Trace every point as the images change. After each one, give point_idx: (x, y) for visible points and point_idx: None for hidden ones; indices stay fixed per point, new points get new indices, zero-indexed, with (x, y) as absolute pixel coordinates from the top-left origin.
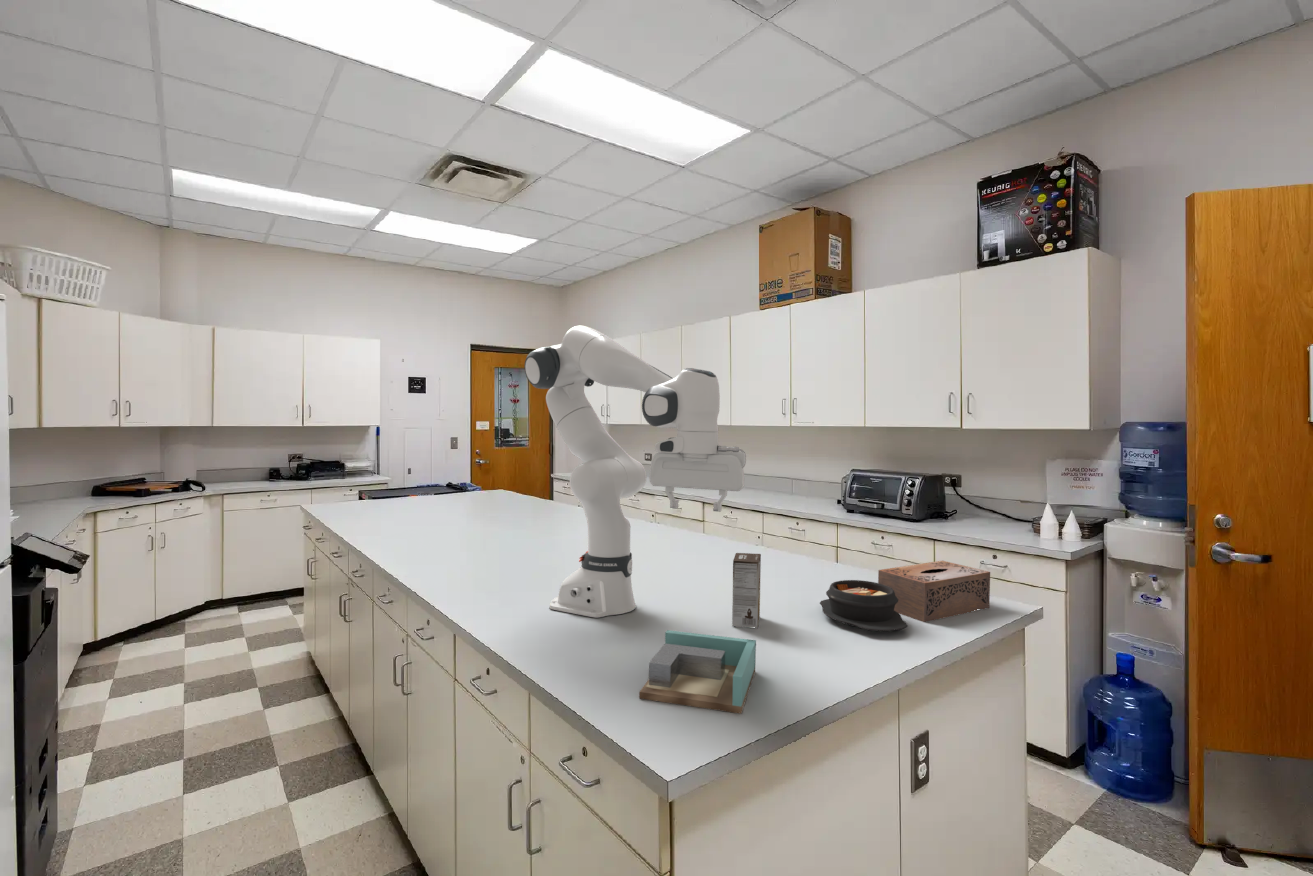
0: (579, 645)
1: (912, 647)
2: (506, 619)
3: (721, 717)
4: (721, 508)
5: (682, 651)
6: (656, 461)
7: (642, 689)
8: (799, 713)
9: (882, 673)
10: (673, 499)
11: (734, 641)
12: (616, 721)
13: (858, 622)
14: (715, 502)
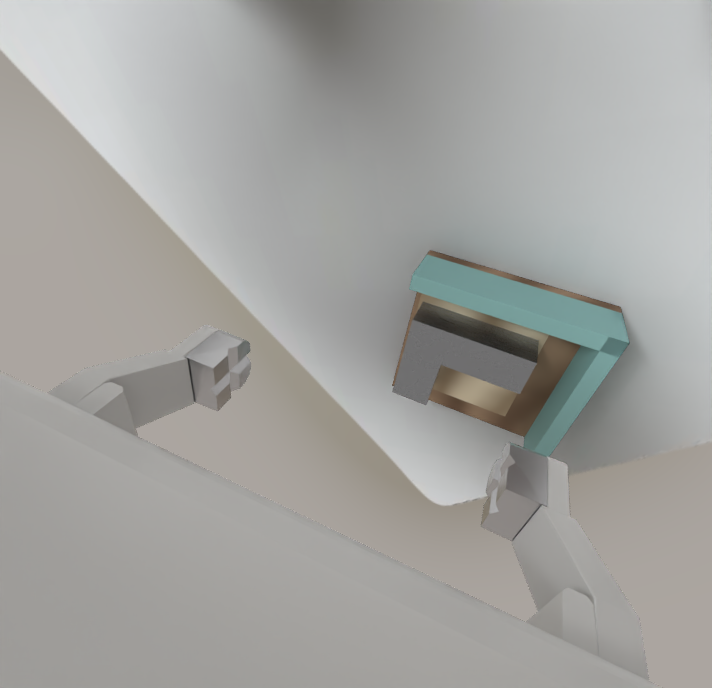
0: (257, 181)
1: None
2: (66, 30)
3: (506, 436)
4: (567, 473)
5: (446, 357)
6: None
7: (395, 380)
8: (639, 449)
9: None
10: (189, 393)
11: (568, 339)
12: (376, 421)
13: None
14: (505, 507)
